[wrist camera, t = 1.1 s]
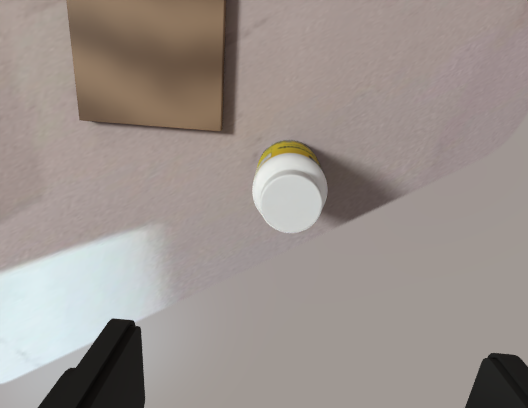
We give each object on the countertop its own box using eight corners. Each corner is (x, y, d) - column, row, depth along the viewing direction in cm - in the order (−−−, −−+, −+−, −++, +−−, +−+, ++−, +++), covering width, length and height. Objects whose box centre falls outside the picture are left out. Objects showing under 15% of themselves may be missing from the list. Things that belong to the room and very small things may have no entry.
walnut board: (68, -44, 26) (61, -48, 25) (226, -33, 26) (224, -37, 25) (85, 118, 30) (79, 120, 29) (222, 129, 30) (220, 131, 29)
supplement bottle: (330, 159, 31) (352, 194, 21) (296, 207, 32) (302, 259, 23) (279, 126, 30) (278, 147, 21) (246, 177, 31) (232, 217, 22)
